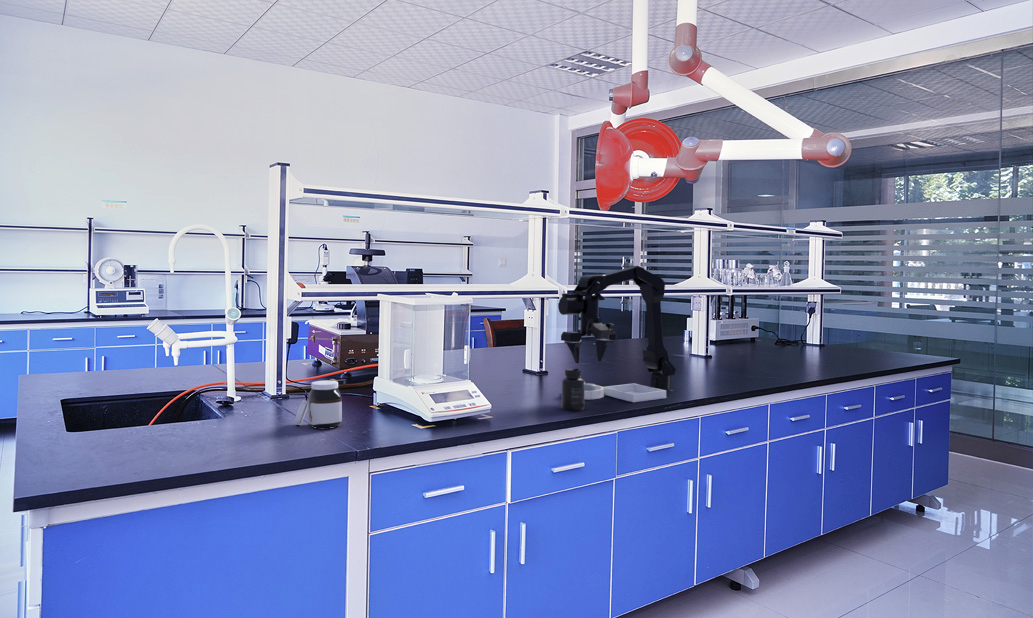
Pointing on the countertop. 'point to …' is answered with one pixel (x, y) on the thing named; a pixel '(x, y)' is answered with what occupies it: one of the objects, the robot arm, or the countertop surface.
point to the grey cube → (589, 387)
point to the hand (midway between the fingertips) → (588, 362)
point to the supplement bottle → (572, 390)
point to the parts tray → (634, 392)
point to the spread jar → (322, 405)
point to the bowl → (594, 393)
